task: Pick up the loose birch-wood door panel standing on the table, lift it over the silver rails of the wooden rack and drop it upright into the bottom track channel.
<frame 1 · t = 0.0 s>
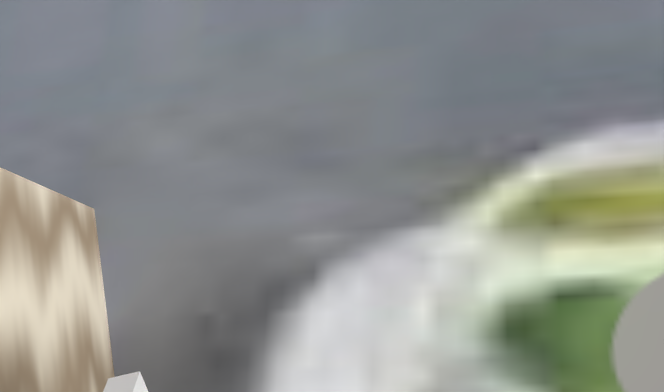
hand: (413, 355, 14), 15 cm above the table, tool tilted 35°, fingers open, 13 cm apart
door panel: (81, 383, 29), on the table
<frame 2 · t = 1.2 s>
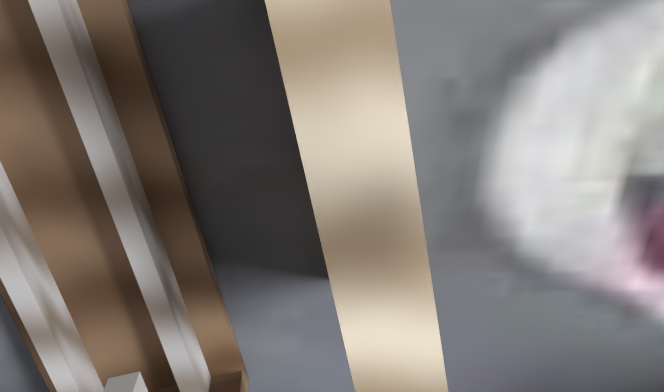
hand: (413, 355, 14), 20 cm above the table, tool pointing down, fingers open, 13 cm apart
wooden rack: (79, 196, 32), on the table
door panel: (336, 139, 32), on the table
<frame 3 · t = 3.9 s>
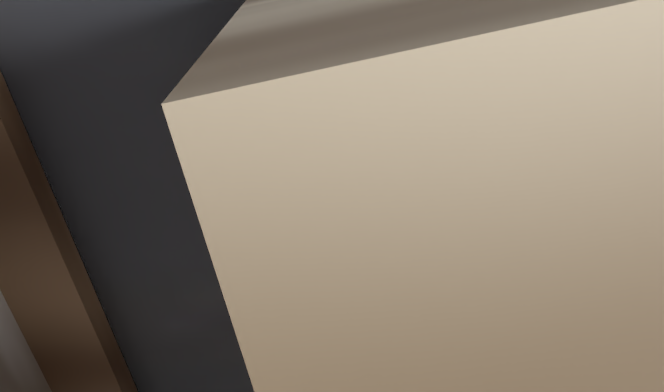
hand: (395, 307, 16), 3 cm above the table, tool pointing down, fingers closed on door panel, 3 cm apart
door panel: (379, 261, 18), on the table, touching gripper
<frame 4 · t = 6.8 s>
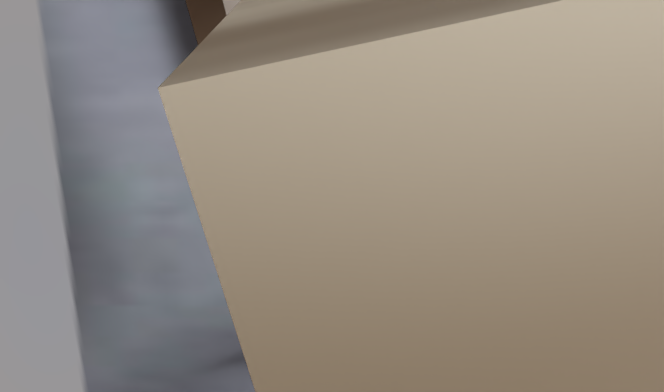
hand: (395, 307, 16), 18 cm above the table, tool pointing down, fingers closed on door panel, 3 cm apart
wooden rack: (333, 132, 33), on the table
door panel: (379, 260, 18), point 16 cm above the table, touching gripper
when the fingers open (5 cm above the table, at t = 9.7 s): door panel drops 1 cm, resting on wooden rack.
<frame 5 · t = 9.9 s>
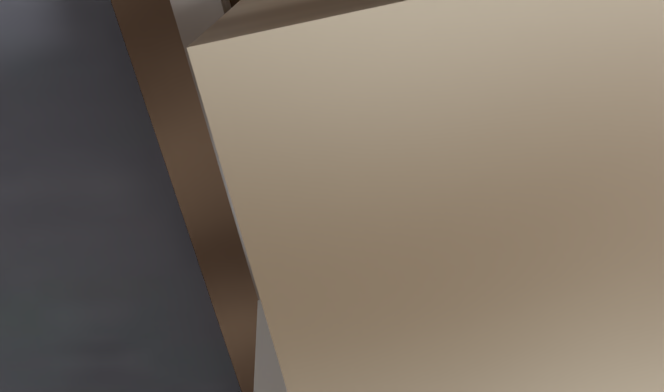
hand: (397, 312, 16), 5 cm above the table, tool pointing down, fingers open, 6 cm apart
wooden rack: (367, 229, 20), on the table
door panel: (373, 241, 20), point 1 cm above the table, touching wooden rack
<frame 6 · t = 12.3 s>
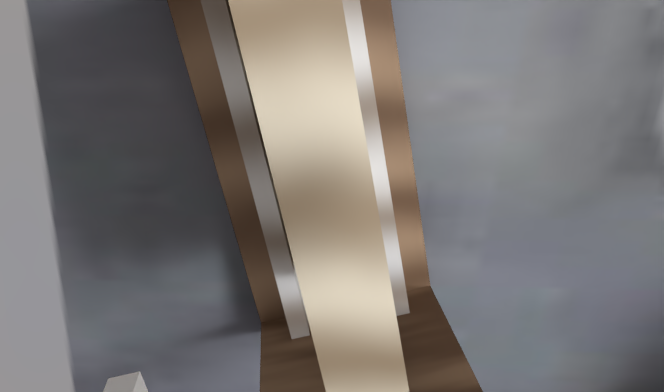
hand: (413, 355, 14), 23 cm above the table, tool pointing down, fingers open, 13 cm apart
wooden rack: (305, 114, 34), on the table
door panel: (307, 118, 33), point 1 cm above the table, touching wooden rack
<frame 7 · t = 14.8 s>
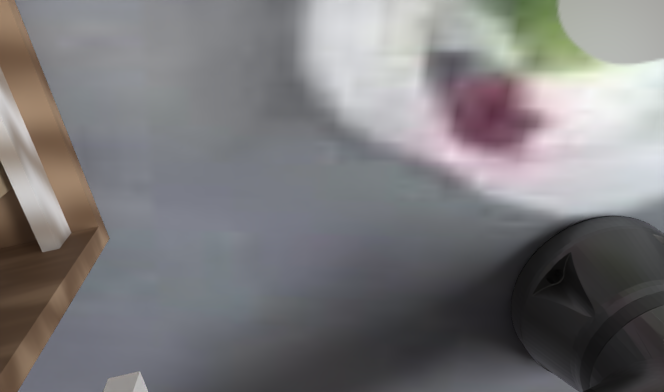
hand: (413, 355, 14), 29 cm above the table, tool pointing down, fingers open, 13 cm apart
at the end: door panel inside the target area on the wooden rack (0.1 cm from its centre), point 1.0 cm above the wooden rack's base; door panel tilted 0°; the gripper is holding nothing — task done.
